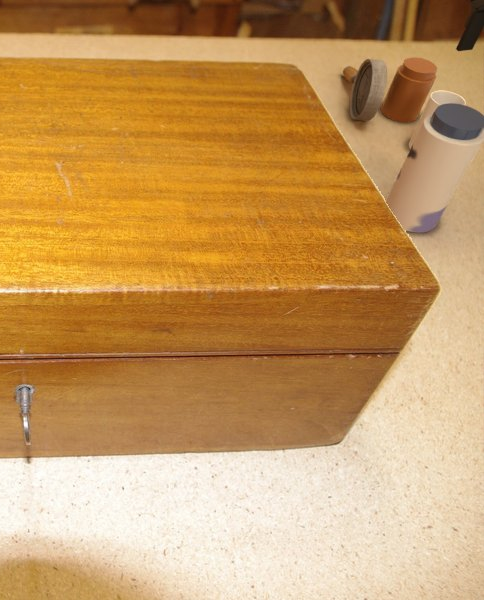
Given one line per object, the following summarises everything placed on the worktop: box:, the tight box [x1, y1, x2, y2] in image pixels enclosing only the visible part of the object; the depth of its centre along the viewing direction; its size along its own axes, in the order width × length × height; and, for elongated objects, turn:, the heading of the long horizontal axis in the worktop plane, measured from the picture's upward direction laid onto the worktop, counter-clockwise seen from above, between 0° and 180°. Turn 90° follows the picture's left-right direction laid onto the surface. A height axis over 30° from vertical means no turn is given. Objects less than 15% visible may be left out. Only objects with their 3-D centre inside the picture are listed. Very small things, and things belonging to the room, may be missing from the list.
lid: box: [430, 103, 484, 140], centre depth 120 cm, size 8×8×2 cm
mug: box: [408, 89, 467, 151], centre depth 148 cm, size 10×7×12 cm, turn 166°
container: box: [385, 114, 484, 233], centre depth 128 cm, size 10×10×20 cm
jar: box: [380, 57, 438, 123], centre depth 157 cm, size 8×8×12 cm
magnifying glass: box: [342, 58, 388, 122], centre depth 160 cm, size 13×3×25 cm
